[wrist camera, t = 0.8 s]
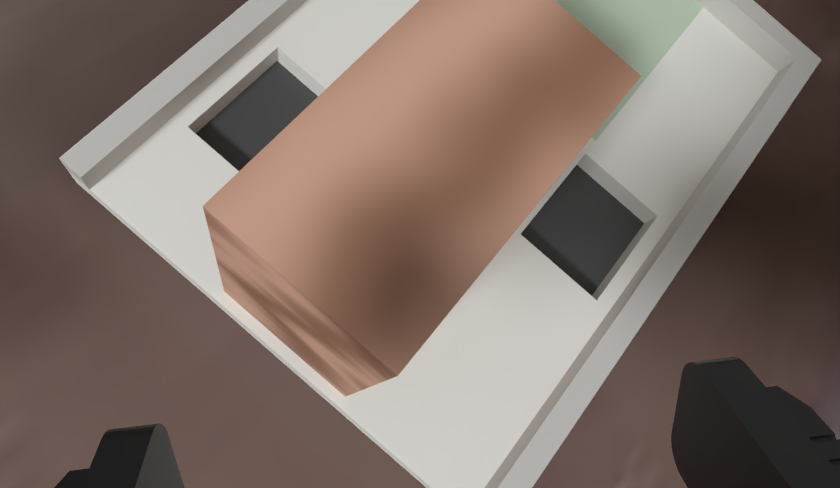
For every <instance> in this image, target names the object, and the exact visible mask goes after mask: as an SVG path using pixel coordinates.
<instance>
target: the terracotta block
mask: <svg viewBox="0 0 840 488" xmlns="http://www.w3.org/2000/svg"><path fill="white" fill-rule="evenodd" d="M640 77H641V75H640V74H639V73H637V72H636V71H635V70H634V69H633V68H632V67H631V66H629V65H628V64H627V63H626V62H625V61H624V60H622V59H621V58H620V57H619V56H618V55H617V54H616V53H614V52H613V51H612V50H611V49H610V48H609V47H608V46H606V45H605V44H604V43H603V42H602V41H601V40H599V39H598V38H597V37H596V36H595V35H594V34H593V33H591V32H590V31H589V30H588V29H587V28H586V27H585V26H583V25H582V24H581V23H580V22H579V21H578V20H576V19H575V18H574V17H573V16H572V15H571V14H570V13H568V12H567V11H566V10H565V9H564V8H563V7H562V6H560V5H559V4H558V3H557V2H556V1H555V0H419V1H418V2H417V3H416V4H415V5H414V6H413V7H412V8H411V9H410V10H409V11H408V12H407V13H406V14H405V15H404V16H403V17H401V18H400V19H399V20H398V21H397V22H396V23H395V24H394V25H393V26H392V27H391V28H390V29H389V30H388V31H387V32H386V33H385V34H384V35H383V36H381V37H380V38H379V39H378V40H377V41H376V42H375V43H374V44H373V45H372V46H371V47H370V48H369V49H368V50H367V51H366V52H365V53H364V54H362V55H361V56H360V57H359V58H358V59H357V60H356V61H355V62H354V63H353V64H352V65H351V66H350V67H349V68H348V69H347V70H346V71H345V72H343V73H342V74H341V75H340V76H339V77H338V78H337V79H336V80H335V81H334V82H333V83H332V84H331V85H330V86H329V87H328V88H327V89H326V90H325V91H323V92H322V93H321V94H320V95H319V96H318V97H317V98H316V99H315V100H314V101H313V102H312V103H311V104H310V105H309V106H308V107H307V108H306V109H304V110H303V111H302V112H301V113H300V114H299V115H298V116H297V117H296V118H295V119H294V120H293V121H292V122H291V123H290V124H289V125H288V126H287V127H285V128H284V129H283V130H282V131H281V132H280V133H279V134H278V135H277V136H276V137H275V138H274V139H273V140H272V141H271V142H270V143H269V144H268V145H267V146H265V147H264V148H263V149H262V150H261V151H260V152H259V153H258V154H257V155H256V156H255V157H254V158H253V159H252V160H251V161H250V162H249V163H248V164H246V165H245V166H244V167H243V168H242V169H241V170H240V171H239V172H238V173H237V174H236V175H235V176H234V177H233V178H232V179H231V180H230V181H229V182H227V183H226V184H225V185H224V186H223V187H222V188H221V189H220V190H219V191H218V192H217V193H216V194H215V195H214V196H213V197H212V198H211V199H210V200H209V201H207V202H206V203H205V204H204V205H203V209H204V213H205V217H206V221H207V225H208V229H209V233H210V237H211V241H212V245H213V249H214V253H215V257H216V261H217V265H218V269H219V273H220V277H221V281H222V285H223V289H224V292H225V293H227V294H228V295H229V296H230V297H231V298H232V299H233V300H235V301H236V302H237V303H238V304H239V305H240V306H241V307H243V308H244V309H245V310H246V311H247V312H248V313H249V314H251V315H252V316H253V317H254V318H255V319H256V320H257V321H259V322H260V323H261V324H262V325H263V326H264V327H266V328H267V329H268V330H269V331H270V332H271V333H272V334H274V335H275V336H276V337H277V338H278V339H279V340H280V341H282V342H283V343H284V344H285V345H286V346H287V347H288V348H290V349H291V350H292V351H293V352H294V353H295V354H296V355H298V356H299V357H300V358H301V359H302V360H303V361H305V362H306V363H307V364H308V365H309V366H310V367H311V368H313V369H314V370H315V371H316V372H317V373H318V374H319V375H321V376H322V377H323V378H324V379H325V380H326V381H327V382H329V383H330V384H331V385H332V386H333V387H334V388H335V389H337V390H338V391H339V392H340V393H341V394H342V395H344V396H345V397H346V396H348V395H351V394H353V393H356V392H359V391H361V390H364V389H366V388H369V387H371V386H374V385H376V384H379V383H381V382H384V381H386V380H389V379H391V378H394V377H396V376H398V375H399V374H400V373H401V371H402V370H403V369H404V368H405V366H406V365H407V364H408V363H409V361H410V360H411V359H412V358H413V357H414V355H415V354H416V353H417V352H418V350H419V349H420V348H421V347H422V345H423V344H424V343H425V342H426V341H427V339H428V338H429V337H430V336H431V334H432V333H433V332H434V331H435V329H436V328H437V327H438V326H439V325H440V323H441V322H442V321H443V320H444V318H445V317H446V316H447V315H448V313H449V312H450V311H451V310H452V309H453V307H454V306H455V305H456V304H457V302H458V301H459V300H460V299H461V297H462V296H463V295H464V294H465V293H466V291H467V290H468V289H469V288H470V286H471V285H472V284H473V283H474V281H475V280H476V279H477V278H478V277H479V275H480V274H481V273H482V272H483V270H484V269H485V268H486V267H487V265H488V264H489V263H490V262H491V261H492V259H493V258H494V257H495V256H496V254H497V253H498V252H499V251H500V249H501V248H502V247H503V246H504V245H505V243H506V242H507V241H508V240H509V238H510V237H511V236H512V235H513V233H514V232H515V231H516V230H517V229H518V227H519V226H520V225H521V224H522V222H523V221H524V220H525V219H526V217H527V216H528V215H529V214H530V213H531V211H532V210H533V209H534V208H535V206H536V205H537V204H538V203H539V201H540V200H541V199H542V198H543V197H544V195H545V194H546V193H547V192H548V190H549V189H550V188H551V187H552V185H553V184H554V183H555V182H556V180H557V179H558V178H559V177H560V176H561V174H562V173H563V172H564V171H565V169H566V168H567V167H568V166H569V164H570V163H571V162H572V161H573V160H574V158H575V157H576V156H577V155H578V153H579V152H580V151H581V150H582V148H583V147H584V146H585V145H586V144H587V142H588V141H589V140H590V139H591V137H592V136H593V135H594V134H595V132H596V131H597V130H598V129H599V128H600V126H601V125H602V124H603V123H604V121H605V120H606V119H607V118H608V116H609V115H610V114H611V113H612V112H613V110H614V109H615V108H616V107H617V105H618V104H619V103H620V102H621V100H622V99H623V98H624V97H625V96H626V94H627V93H628V92H629V91H630V89H631V88H632V87H633V86H634V84H635V83H636V82H637V81H638V80H639V78H640Z"/></svg>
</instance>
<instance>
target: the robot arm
mask: <svg viewBox="0 0 840 488" xmlns="http://www.w3.org/2000/svg"><path fill="white" fill-rule="evenodd" d="M671 442H672V451H673V456H674V460H675V463H676V466H677V469H678V471H679V473H680V475H681V477H682V479H683V480H684V482H685V484H686V485H687V487H688V488H840V440H836V438H835V434H834V432H833V431H832V430H831V429H830V428H829V427H828V426H827V425H826V424H825V423H824V421H823V420H822V419H821V418H820V417H819V416H818V415H817V414H816V413H815V412H814V410H813V409H812V408H811V407H809V406H808V405H806V404H805V403H803V402H801V401H800V400H798V399H797V398H795V397H794V396H792V395H790V394H789V393H787V392H786V391H784V390H783V389H781V388H779V387H778V386H774V387H765V386H764V385H763V383H762V382H761V381H760V380H759V379H758V378H757V376H756V375H755V374H754V373H753V372H752V370H751V369H750V368H749V367H748V366H747V365H746V364H745V363H744V362H743V361H742V360H741V359H739V358H736V357H732V358H723V359H715V360H706V361H698V362H690V363H687V364H686V365H685V367H684V369H683V371H682V376H681V382H680V388H679V393H678V399H677V405H676V411H675V417H674V423H673V429H672V436H671ZM55 488H184V485H183V482H182V478H181V475H180V472H179V469H178V465H177V462H176V459H175V456H174V452H173V449H172V446H171V443H170V439H169V436H168V433H167V431H166V429H165V427H164V426H163V425H162V424H152V425H144V426H135V427H127V428H118V429H110V430H108V431H107V432H105V434H104V435H103V437H102V439H101V441H100V444H99V446H98V449H97V451H96V454H95V456H94V459H93V461H92V464H91V466H90V469H82V470H74V471H69V472H68V473H67V474H66V476H65V477H64V478H63V479H62V480H61V481H60V482H59V483H58V484H57V485H56V486H55Z"/></svg>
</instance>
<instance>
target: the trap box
mask: <svg viewBox="0 0 840 488" xmlns="http://www.w3.org/2000/svg"><path fill="white" fill-rule="evenodd" d="M418 1H419V0H248V1H247V2H246V3H245V4H244V5H242V6H241V7H240V8H239V9H238V10H236V11H235V12H234V13H233V14H232V15H230V16H229V17H228V18H227V19H226V20H224V21H223V22H222V23H221V24H220V25H218V26H217V27H216V28H215V29H214V30H212V31H211V32H210V33H209V34H208V35H206V36H205V37H204V38H203V39H202V40H200V41H199V42H198V43H197V44H196V45H194V46H193V47H192V48H191V49H190V50H188V51H187V52H186V53H185V54H184V55H182V56H181V57H180V58H179V59H178V60H176V61H175V62H174V63H173V64H172V65H170V66H169V67H168V68H167V69H166V70H164V71H163V72H162V73H161V74H160V75H158V76H157V77H156V78H155V79H154V80H152V81H151V82H150V83H149V84H148V85H146V86H145V87H144V88H143V89H142V90H140V91H139V92H138V93H137V94H136V95H134V96H133V97H132V98H131V99H130V100H128V101H127V102H126V103H125V104H124V105H122V106H121V107H120V108H119V109H118V110H116V111H115V112H114V113H113V114H112V115H110V116H109V117H108V118H107V119H106V120H104V121H103V122H102V123H101V124H100V125H98V126H97V127H96V128H95V129H94V130H92V131H91V132H90V133H89V134H88V135H86V136H85V137H84V138H83V139H82V140H80V141H79V142H78V143H77V144H76V145H74V146H73V147H72V148H71V149H70V150H68V151H67V152H66V153H65V154H64V155H62V156H61V157H60V158H59V159H60V160H61V162H62V163H63V165H64V166H65V167H66V169H67V170H68V171H69V173H70V174H71V175H72V177H73V178H74V180H75V181H76V182H77V183H78V184H79V185H80V186H81V187H82V188H83V189H84V190H86V191H87V192H88V193H89V194H90V195H91V196H92V197H94V198H95V199H96V200H97V201H98V202H99V203H101V204H102V205H103V206H104V207H105V208H106V209H107V210H109V211H110V212H111V213H112V214H113V215H114V216H115V217H117V218H118V219H119V220H120V221H121V222H122V223H123V224H125V225H126V226H127V227H128V228H129V229H130V230H131V231H133V232H134V233H135V234H136V235H137V236H138V237H139V238H141V239H142V240H143V241H144V242H145V243H146V244H148V245H149V246H150V247H151V248H152V249H153V250H154V251H156V252H157V253H158V254H159V255H160V256H161V257H162V258H164V259H165V260H166V261H167V262H168V263H169V264H170V265H172V266H173V267H174V268H175V269H176V270H177V271H178V272H180V273H181V274H182V275H183V276H184V277H185V278H187V279H188V280H189V281H190V282H191V283H192V284H193V285H195V286H196V287H197V288H198V289H199V290H200V291H201V292H203V293H204V294H205V295H206V296H207V297H208V298H209V299H211V300H212V301H213V302H214V303H215V304H216V305H217V306H219V307H220V308H221V309H222V310H223V311H224V312H226V313H227V314H228V315H229V316H230V317H231V318H232V319H234V320H235V321H236V322H237V323H238V324H239V325H240V326H242V327H243V328H244V329H245V330H246V331H247V332H248V333H250V334H251V335H252V336H253V337H254V338H255V339H256V340H258V341H259V342H260V343H261V344H262V345H263V346H265V347H266V348H267V349H268V350H269V351H270V352H271V353H273V354H274V355H275V356H276V357H277V358H278V359H279V360H281V361H282V362H283V363H284V364H285V365H286V366H287V367H289V368H290V369H291V370H292V371H293V372H294V373H295V374H297V375H298V376H299V377H300V378H301V379H302V380H303V381H305V382H306V383H307V384H308V385H309V386H310V387H312V388H313V389H314V390H315V391H316V392H317V393H318V394H320V395H321V396H322V397H323V398H324V399H325V400H326V401H328V402H329V403H330V404H331V405H332V406H333V407H334V408H336V409H337V410H338V411H339V412H340V413H341V414H342V415H344V416H345V417H346V418H347V419H348V420H349V421H351V422H352V423H353V424H354V425H355V426H356V427H357V428H359V429H360V430H361V431H362V432H363V433H364V434H365V435H367V436H368V437H369V438H370V439H371V440H372V441H373V442H375V443H376V444H377V445H378V446H379V447H380V448H381V449H383V450H384V451H385V452H386V453H387V454H388V455H390V456H391V457H392V458H393V459H394V460H395V461H396V462H398V463H399V464H400V465H401V466H402V467H403V468H404V469H406V470H407V471H408V472H409V473H410V474H411V475H412V476H414V477H415V478H416V479H417V480H418V481H419V482H420V483H422V484H423V485H424V486H425V487H426V488H532V487H533V485H534V484H535V482H536V481H537V479H538V478H539V477H540V475H541V474H542V472H543V471H544V469H545V468H546V466H547V465H548V463H549V462H550V460H551V459H552V457H553V456H554V454H555V453H556V451H557V450H558V448H559V447H560V445H561V444H562V443H563V441H564V440H565V438H566V437H567V435H568V434H569V432H570V431H571V429H572V428H573V426H574V425H575V423H576V422H577V420H578V419H579V417H580V416H581V414H582V413H583V411H584V410H585V409H586V407H587V406H588V404H589V403H590V401H591V400H592V398H593V397H594V395H595V394H596V392H597V391H598V389H599V388H600V386H601V385H602V383H603V382H604V380H605V379H606V377H607V376H608V375H609V373H610V372H611V370H612V369H613V367H614V366H615V364H616V363H617V361H618V360H619V358H620V357H621V355H622V354H623V352H624V351H625V349H626V348H627V346H628V345H629V343H630V342H631V341H632V339H633V338H634V336H635V335H636V333H637V332H638V330H639V329H640V327H641V326H642V324H643V323H644V321H645V320H646V318H647V317H648V315H649V314H650V312H651V311H652V309H653V308H654V306H655V305H656V304H657V302H658V301H659V299H660V298H661V296H662V295H663V293H664V292H665V290H666V289H667V287H668V286H669V284H670V283H671V281H672V280H673V278H674V277H675V275H676V274H677V272H678V271H679V270H680V268H681V267H682V265H683V264H684V262H685V261H686V259H687V258H688V256H689V255H690V253H691V252H692V250H693V249H694V247H695V246H696V244H697V243H698V241H699V240H700V238H701V237H702V236H703V234H704V233H705V231H706V230H707V228H708V227H709V225H710V224H711V222H712V221H713V219H714V218H715V216H716V215H717V213H718V212H719V210H720V209H721V207H722V206H723V204H724V203H725V202H726V200H727V199H728V197H729V196H730V194H731V193H732V191H733V190H734V188H735V187H736V185H737V184H738V182H739V181H740V179H741V178H742V176H743V175H744V173H745V172H746V170H747V169H748V168H749V166H750V165H751V163H752V162H753V160H754V159H755V157H756V156H757V154H758V153H759V151H760V150H761V148H762V147H763V145H764V144H765V142H766V141H767V139H768V138H769V136H770V135H771V134H772V132H773V131H774V129H775V128H776V126H777V125H778V123H779V122H780V120H781V119H782V117H783V116H784V114H785V113H786V111H787V110H788V108H789V107H790V105H791V104H792V102H793V101H794V100H795V98H796V97H797V95H798V94H799V92H800V91H801V89H802V88H803V86H804V85H805V83H806V82H807V80H808V79H809V77H810V76H811V74H812V73H813V71H814V70H815V68H816V67H817V66H818V64H819V63H820V61H821V59H820V58H819V57H818V56H817V55H816V54H814V53H813V52H812V51H811V50H810V49H809V48H808V47H806V46H805V45H804V44H803V43H802V42H801V41H800V40H798V39H797V38H796V37H795V36H794V35H793V34H791V33H790V32H789V31H788V30H787V29H786V28H785V27H783V26H782V25H781V24H780V23H779V22H778V21H777V20H775V19H774V18H773V17H772V16H771V15H770V14H768V13H767V12H766V11H765V10H764V9H763V8H762V7H760V6H759V5H758V4H757V3H756V2H755V1H753V0H555V1H556V2H557V3H558V4H559V5H560V6H562V7H563V8H564V9H565V10H566V11H567V12H568V13H570V14H571V15H572V16H573V17H574V18H575V19H576V20H578V21H579V22H580V23H581V24H582V25H583V26H585V27H586V28H587V29H588V30H589V31H590V32H591V33H593V34H594V35H595V36H596V37H597V38H598V39H599V40H601V41H602V42H603V43H604V44H605V45H606V46H608V47H609V48H610V49H611V50H612V51H613V52H614V53H616V54H617V55H618V56H619V57H620V58H621V59H622V60H624V61H625V62H626V63H627V64H628V65H629V66H631V67H632V68H633V69H634V70H635V71H636V72H637V73H639V74H640V75H641V77H640V78H639V80H638V81H637V82H636V83H635V84H634V86H633V87H632V88H631V89H630V91H629V92H628V93H627V94H626V96H625V97H624V98H623V99H622V100H621V102H620V103H619V104H618V105H617V107H616V108H615V109H614V110H613V112H612V113H611V114H610V115H609V116H608V118H607V119H606V120H605V121H604V123H603V124H602V125H601V126H600V128H599V129H598V130H597V131H596V132H595V134H594V135H593V136H592V137H591V139H590V140H589V141H588V142H587V144H586V145H585V146H584V147H583V148H582V150H581V151H580V152H579V153H578V155H577V156H576V157H575V158H574V160H573V161H572V162H571V163H570V164H569V166H568V167H567V168H566V169H565V171H564V172H563V173H562V174H561V176H560V177H559V178H558V179H557V180H556V182H555V183H554V184H553V185H552V187H551V188H550V189H549V190H548V192H547V193H546V194H545V195H544V197H543V198H542V199H541V200H540V201H539V203H538V204H537V205H536V206H535V208H534V209H533V210H532V211H531V213H530V214H529V215H528V216H527V217H526V219H525V220H524V221H523V222H522V224H521V225H520V226H519V227H518V229H517V230H516V231H515V232H514V233H513V235H512V236H511V237H510V238H509V240H508V241H507V242H506V243H505V245H504V246H503V247H502V248H501V249H500V251H499V252H498V253H497V254H496V256H495V257H494V258H493V259H492V261H491V262H490V263H489V264H488V265H487V267H486V268H485V269H484V270H483V272H482V273H481V274H480V275H479V277H478V278H477V279H476V280H475V281H474V283H473V284H472V285H471V286H470V288H469V289H468V290H467V291H466V293H465V294H464V295H463V296H462V297H461V299H460V300H459V301H458V302H457V304H456V305H455V306H454V307H453V309H452V310H451V311H450V312H449V313H448V315H447V316H446V317H445V318H444V320H443V321H442V322H441V323H440V325H439V326H438V327H437V328H436V329H435V331H434V332H433V333H432V334H431V336H430V337H429V338H428V339H427V341H426V342H425V343H424V344H423V345H422V347H421V348H420V349H419V350H418V352H417V353H416V354H415V355H414V357H413V358H412V359H411V360H410V361H409V363H408V364H407V365H406V366H405V368H404V369H403V370H402V371H401V373H400V374H399V375H398V376H396V377H394V378H391V379H389V380H386V381H384V382H381V383H379V384H376V385H374V386H371V387H369V388H366V389H364V390H361V391H359V392H356V393H353V394H351V395H348V396H346V397H345V396H344V395H342V394H341V393H340V392H339V391H338V390H337V389H335V388H334V387H333V386H332V385H331V384H330V383H329V382H327V381H326V380H325V379H324V378H323V377H322V376H321V375H319V374H318V373H317V372H316V371H315V370H314V369H313V368H311V367H310V366H309V365H308V364H307V363H306V362H305V361H303V360H302V359H301V358H300V357H299V356H298V355H296V354H295V353H294V352H293V351H292V350H291V349H290V348H288V347H287V346H286V345H285V344H284V343H283V342H282V341H280V340H279V339H278V338H277V337H276V336H275V335H274V334H272V333H271V332H270V331H269V330H268V329H267V328H266V327H264V326H263V325H262V324H261V323H260V322H259V321H257V320H256V319H255V318H254V317H253V316H252V315H251V314H249V313H248V312H247V311H246V310H245V309H244V308H243V307H241V306H240V305H239V304H238V303H237V302H236V301H235V300H233V299H232V298H231V297H230V296H229V295H228V294H227V293H225V292H224V289H223V285H222V281H221V277H220V273H219V269H218V265H217V261H216V257H215V253H214V249H213V245H212V241H211V237H210V233H209V229H208V225H207V221H206V217H205V213H204V209H203V205H204V204H205V203H206V202H207V201H209V200H210V199H211V198H212V197H213V196H214V195H215V194H216V193H217V192H218V191H219V190H220V189H221V188H222V187H223V186H224V185H225V184H226V183H227V182H229V181H230V180H231V179H232V178H233V177H234V176H235V175H236V174H237V173H238V172H239V171H240V170H241V169H242V168H243V167H244V166H245V165H246V164H248V163H249V162H250V161H251V160H252V159H253V158H254V157H255V156H256V155H257V154H258V153H259V152H260V151H261V150H262V149H263V148H264V147H265V146H267V145H268V144H269V143H270V142H271V141H272V140H273V139H274V138H275V137H276V136H277V135H278V134H279V133H280V132H281V131H282V130H283V129H284V128H285V127H287V126H288V125H289V124H290V123H291V122H292V121H293V120H294V119H295V118H296V117H297V116H298V115H299V114H300V113H301V112H302V111H303V110H304V109H306V108H307V107H308V106H309V105H310V104H311V103H312V102H313V101H314V100H315V99H316V98H317V97H318V96H319V95H320V94H321V93H322V92H323V91H325V90H326V89H327V88H328V87H329V86H330V85H331V84H332V83H333V82H334V81H335V80H336V79H337V78H338V77H339V76H340V75H341V74H342V73H343V72H345V71H346V70H347V69H348V68H349V67H350V66H351V65H352V64H353V63H354V62H355V61H356V60H357V59H358V58H359V57H360V56H361V55H362V54H364V53H365V52H366V51H367V50H368V49H369V48H370V47H371V46H372V45H373V44H374V43H375V42H376V41H377V40H378V39H379V38H380V37H381V36H383V35H384V34H385V33H386V32H387V31H388V30H389V29H390V28H391V27H392V26H393V25H394V24H395V23H396V22H397V21H398V20H399V19H400V18H401V17H403V16H404V15H405V14H406V13H407V12H408V11H409V10H410V9H411V8H412V7H413V6H414V5H415V4H416V3H417V2H418Z"/></svg>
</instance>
